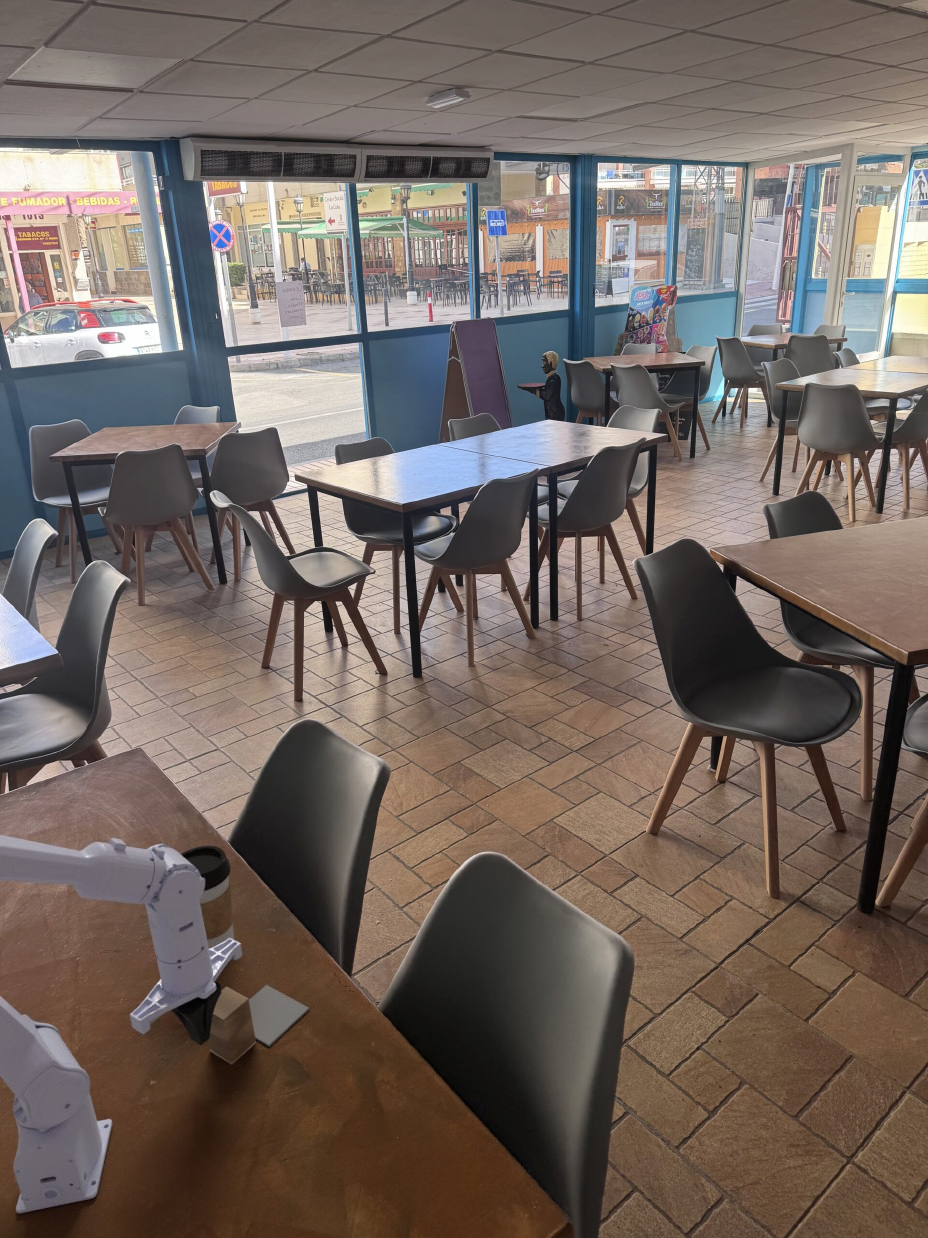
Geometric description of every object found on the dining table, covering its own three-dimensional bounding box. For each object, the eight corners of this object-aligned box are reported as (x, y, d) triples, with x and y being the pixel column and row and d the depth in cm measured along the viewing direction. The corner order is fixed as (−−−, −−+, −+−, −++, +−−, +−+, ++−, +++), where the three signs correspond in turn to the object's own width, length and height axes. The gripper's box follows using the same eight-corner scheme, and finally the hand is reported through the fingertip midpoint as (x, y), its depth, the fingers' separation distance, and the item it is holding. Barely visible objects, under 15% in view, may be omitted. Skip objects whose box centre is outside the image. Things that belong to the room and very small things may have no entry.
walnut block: (231, 1064, 108) (223, 1020, 105) (210, 1051, 110) (201, 1007, 107) (256, 1042, 111) (248, 998, 108) (234, 1029, 113) (226, 986, 110)
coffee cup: (171, 956, 127) (153, 868, 122) (212, 920, 134) (196, 836, 128) (214, 973, 123) (197, 883, 118) (254, 935, 130) (240, 849, 125)
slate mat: (269, 1047, 110) (268, 1045, 110) (226, 1021, 114) (225, 1019, 114) (309, 1009, 115) (309, 1007, 115) (266, 986, 120) (266, 985, 120)
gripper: (150, 1000, 93) (172, 1097, 98) (252, 921, 104) (267, 1011, 109) (110, 975, 97) (133, 1069, 101) (213, 902, 108) (229, 990, 112)
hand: (200, 1038), depth 105 cm, fingers closed
